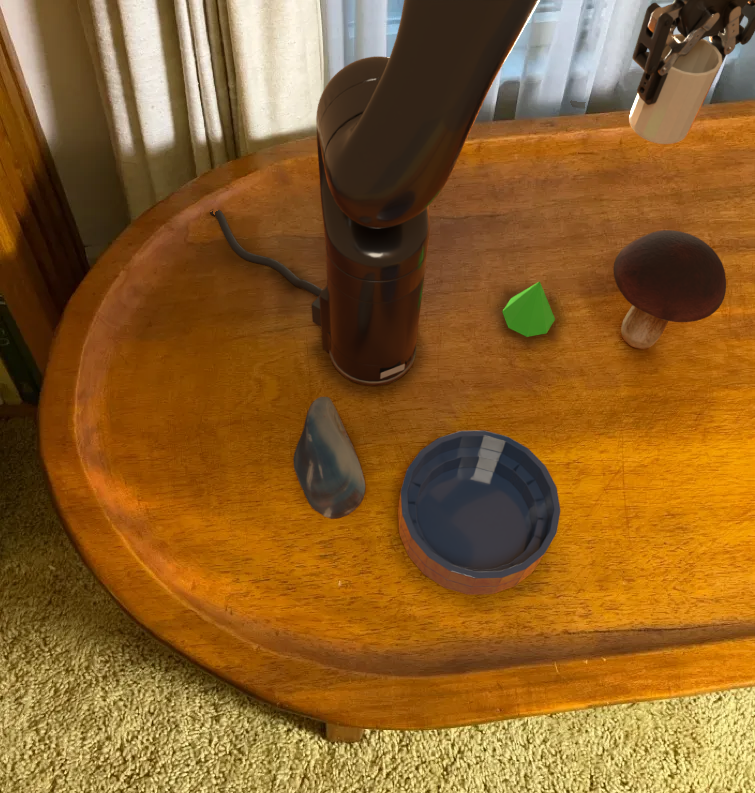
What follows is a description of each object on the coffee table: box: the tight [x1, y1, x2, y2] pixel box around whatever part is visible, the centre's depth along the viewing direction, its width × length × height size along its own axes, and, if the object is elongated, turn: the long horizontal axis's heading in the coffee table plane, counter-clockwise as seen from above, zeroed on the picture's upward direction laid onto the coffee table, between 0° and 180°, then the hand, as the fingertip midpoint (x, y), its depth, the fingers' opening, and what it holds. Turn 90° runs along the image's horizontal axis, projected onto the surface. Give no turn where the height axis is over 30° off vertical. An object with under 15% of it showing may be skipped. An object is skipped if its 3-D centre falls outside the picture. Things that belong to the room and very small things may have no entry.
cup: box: [628, 33, 723, 145], centre depth 79 cm, size 6×6×8 cm
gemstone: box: [501, 281, 556, 338], centre depth 83 cm, size 6×6×6 cm
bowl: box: [397, 429, 561, 596], centre depth 70 cm, size 14×14×6 cm
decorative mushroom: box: [612, 229, 727, 350], centre depth 78 cm, size 11×11×15 cm
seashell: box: [293, 396, 366, 520], centre depth 73 cm, size 6×9×10 cm
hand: (674, 90), depth 79 cm, fingers closed on cup, 6 cm apart
